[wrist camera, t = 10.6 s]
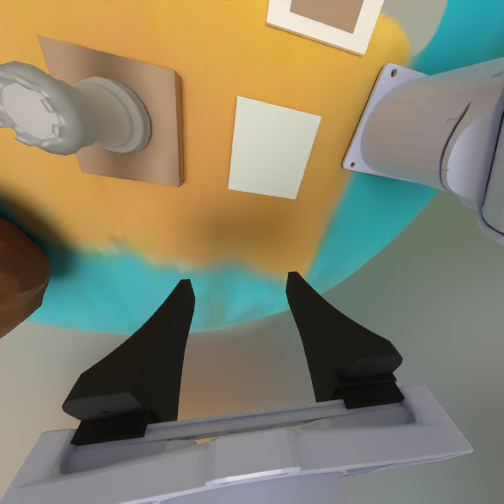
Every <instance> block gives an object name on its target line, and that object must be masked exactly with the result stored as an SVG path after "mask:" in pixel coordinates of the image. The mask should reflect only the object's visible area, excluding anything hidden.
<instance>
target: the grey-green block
mask: <svg viewBox="0 0 504 504" xmlns="http://www.w3.org/2000/svg"><path fill="white" fill-rule="evenodd" d="M320 120H321V116H317V115H313V114H309V113H305V112H301V111H297V110H293V109H289V108H284V107H280V106H276V105H272V104H268V103H264V102H260V101H256V100H252V99H248V98H244V97H240V96H237V103H236V112H235V122H234V132H233V142H232V152H231V162H230V172H229V181H228V189H231V190H238V191H244V192H251V193H257V194H264V195H270V196H277V197H283V198H290V199H296V196H297V193H298V190H299V187H300V183H301V180H302V177H303V174H304V171H305V168H306V164H307V161H308V158H309V155H310V152H311V149H312V145H313V142H314V139H315V136H316V133H317V130H318V127H319V123H320Z"/></svg>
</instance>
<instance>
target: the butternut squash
mask: <svg viewBox="0 0 504 504" xmlns="http://www.w3.org/2000/svg"><path fill="white" fill-rule="evenodd" d="M50 268H51V267H50V261H49V258H48V256H47V255H46V254H45V253H44V251H43V250H42V249H40V248H39V247H38V246H37V245H36V244H35V243H34V242H33V241H31V240H30V239H29V238H28V237H27V236H26V235H25V234H24V233H23V232H22V231H21V229H20V228H19V227H17V226H16V225H14V224H13V223H11V222H9V221H8V220H6V219H4V218H2V217H0V338H2V337H3V336H5V335H6V334H7V333H9V332H10V331H11V330H13V329H14V328H15V327H16V326H18V325H19V324H20V323H21V322H23V321H24V320H25V319H26V318H28V317H29V316H30V315H31V314H32V313H33V312H34V311H35V310H37V309H38V308H39V307H40V306H41V305H42V300H43V296H44V293H45V291H46V288H47V286H48V282H49V279H50Z"/></svg>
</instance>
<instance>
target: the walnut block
mask: <svg viewBox="0 0 504 504" xmlns="http://www.w3.org/2000/svg"><path fill="white" fill-rule="evenodd" d="M37 36H38V39H39V42H40V45H41V49H42V52H43V55H44V58H45V61H46V64H47V67H48V70H49V73H50V76H52V77H53V78H55V79H58V80H62V81H65V82H66V83H68V84H70V85H71V86H73V87H76V86H77V85H78V83H79V82H80V81H81V80H83V79H86V78H90V77H94V76H99V77H104V78H108V79H112V80H116V81H119V82H120V83H122V84H123V85H125V86H126V87H127V88H129V89H130V90H132V91H133V92H134V94H135V95H136V96H137V97H138V99H139V100H140V101H141V102H142V104H143V105H144V108H145V110H146V112H147V115H148V117H149V120H150V130H151V133H150V137H149V140H148V143H147V144H146V145H145V146H144V147H143V148H142V149H141V150H140V151H136V152H133V153H119V152H114V151H110V150H108V149H106V148H104V147H102V146H100V145H99V144H97V143H96V142H95V143H94V144H93V145H90V146H86V147H82V148H81V149H80V150H79V151H78V152H77V153H76V156H77V159H78V162H79V165H80V169H81V172H82V173H88V174H95V175H101V176H108V177H115V178H122V179H128V180H135V181H142V182H149V183H155V184H162V185H169V186H176V187H180V186H181V185H182V184H183V182H184V163H183V130H182V98H181V77H180V76H179V75H178V74H177V73H176V72H175V71H174V70H170V69H167V68H163V67H159V66H155V65H151V64H147V63H143V62H139V61H136V60H132V59H128V58H124V57H120V56H116V55H112V54H108V53H105V52H101V51H97V50H93V49H89V48H85V47H81V46H78V45H74V44H70V43H66V42H62V41H58V40H54V39H50V38H47V37H43V36H39V35H37Z"/></svg>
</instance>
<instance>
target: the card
mask: <svg viewBox="0 0 504 504" xmlns="http://www.w3.org/2000/svg"><path fill="white" fill-rule="evenodd" d="M383 2H384V0H269V4H268V11H267V17H266V24H265V25H268V26H271V27H274V28H277V29H281V30H284V31H287V32H290V33H293V34H296V35H299V36H302V37H305V38H308V39H311V40H314V41H317V42H320V43H323V44H326V45H329V46H332V47H335V48H338V49H341V50H344V51H347V52H350V53H353V54H356V55H359V56H363V55H364V54H365V51H366V48H367V46H368V43H369V40H370V38H371V35H372V32H373V29H374V27H375V24H376V21H377V18H378V16H379V13H380V10H381V8H382V5H383Z"/></svg>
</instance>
